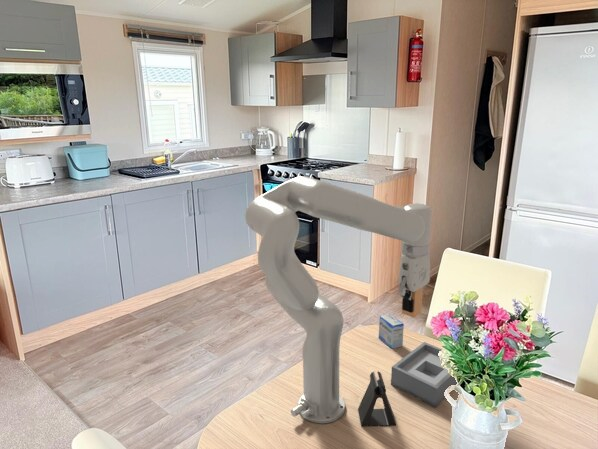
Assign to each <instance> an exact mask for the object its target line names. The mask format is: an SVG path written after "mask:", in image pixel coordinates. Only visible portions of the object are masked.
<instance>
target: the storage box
mask: <svg viewBox="0 0 598 449" xmlns="http://www.w3.org/2000/svg"><path fill="white" fill-rule="evenodd" d="M441 350H442V348H440V347H437V346H436V345H432V344H431V343H428V342H426V341H423V342H422V343H421V344H420V345H418V346H417V347H416V348H415V349H413V350H412V351H411V352H409V353H408V354H406V355H405V356H404V357H402V358H401V359H400V360H399V361H397V362H395V363H394V364H393V365H392V366H391V377H390V378H391V379H390V385H391V386H393V387H395V388H397V389H399V390H401V391H402V392H405V393H406V394H408V395H410V396H412V397H413V398H416V399H418V400H420V401H422V402H424V403H426V404H428V405H429V406H431V407H433V408H437V407H438V406H439V405H440V404H441V403H442V402H443V401H444V400H445V399H446V398H445V396H444V392H445V390H446V389H447V388H448V387H449V386H451V385H456V384H457V382H456V380H455V378H454V377H452V376H451V375H450V374H449V373H448V370H447V369H445V368H443V367H442V366H441V363H440V358H439V356H438V353H439V351H441Z"/></svg>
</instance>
